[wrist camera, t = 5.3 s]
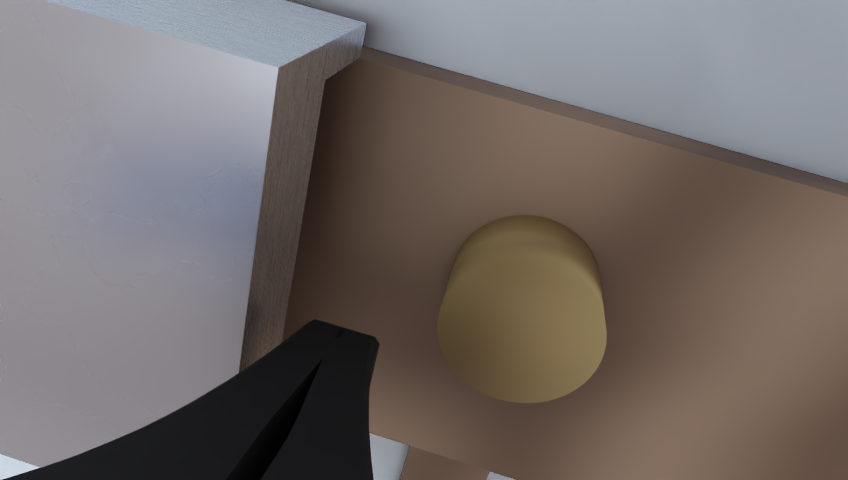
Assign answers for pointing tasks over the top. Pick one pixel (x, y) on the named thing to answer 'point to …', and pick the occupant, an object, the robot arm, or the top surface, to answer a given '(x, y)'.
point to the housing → (148, 203)
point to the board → (670, 292)
